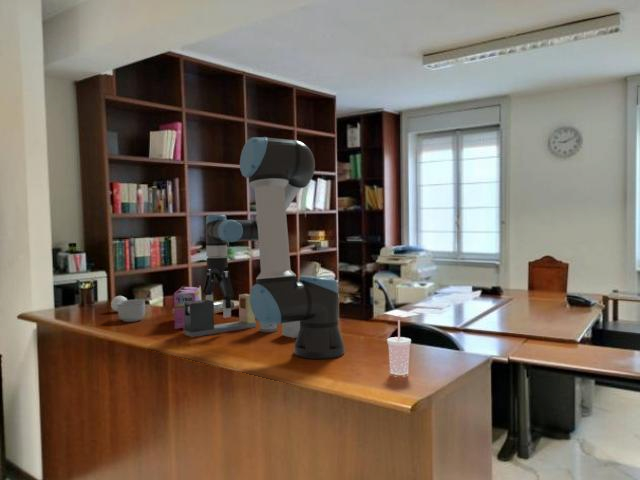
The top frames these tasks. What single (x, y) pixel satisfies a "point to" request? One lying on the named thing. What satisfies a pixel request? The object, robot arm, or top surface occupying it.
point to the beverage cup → (399, 353)
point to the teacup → (131, 310)
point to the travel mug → (268, 328)
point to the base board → (221, 329)
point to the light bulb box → (291, 329)
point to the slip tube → (215, 306)
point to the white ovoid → (116, 300)
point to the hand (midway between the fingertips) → (218, 314)
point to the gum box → (179, 298)
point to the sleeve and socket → (204, 314)
